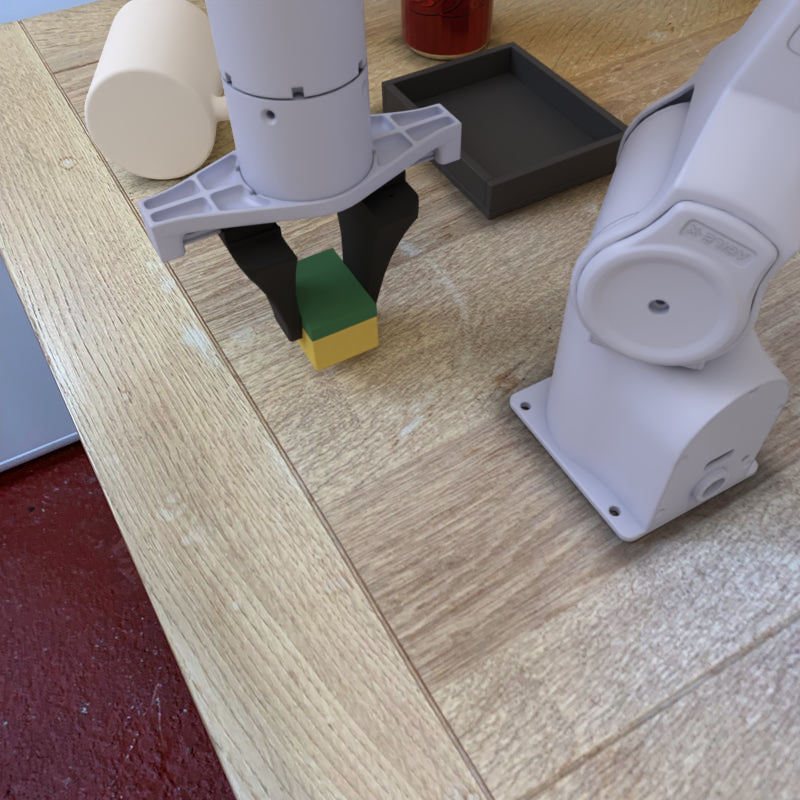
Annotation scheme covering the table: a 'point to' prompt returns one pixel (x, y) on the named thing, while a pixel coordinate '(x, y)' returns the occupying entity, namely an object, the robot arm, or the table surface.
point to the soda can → (446, 27)
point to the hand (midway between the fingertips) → (326, 313)
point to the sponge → (333, 311)
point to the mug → (157, 90)
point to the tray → (512, 126)
